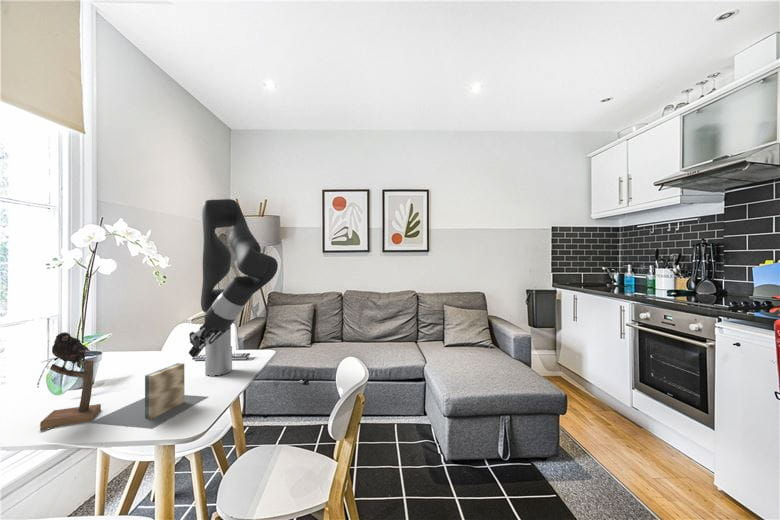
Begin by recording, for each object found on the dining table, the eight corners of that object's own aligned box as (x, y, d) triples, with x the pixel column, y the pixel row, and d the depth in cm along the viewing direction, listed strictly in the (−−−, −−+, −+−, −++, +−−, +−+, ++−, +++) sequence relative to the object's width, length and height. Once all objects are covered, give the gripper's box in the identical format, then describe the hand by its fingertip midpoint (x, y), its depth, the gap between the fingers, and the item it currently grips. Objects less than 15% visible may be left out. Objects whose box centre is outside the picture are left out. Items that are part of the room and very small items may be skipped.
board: (177, 401, 111) (177, 363, 111) (184, 401, 110) (184, 363, 110) (145, 418, 99) (145, 375, 99) (152, 418, 98) (152, 375, 98)
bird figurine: (107, 403, 110) (107, 323, 110) (91, 422, 97) (91, 331, 97) (62, 409, 106) (62, 326, 106) (40, 430, 93) (40, 335, 93)
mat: (155, 394, 118) (155, 392, 118) (208, 397, 114) (208, 396, 114) (88, 424, 96) (88, 422, 96) (152, 430, 93) (152, 428, 93)
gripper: (232, 298, 107) (201, 341, 109) (199, 303, 94) (164, 351, 96) (248, 315, 106) (217, 357, 108) (218, 322, 93) (182, 370, 95)
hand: (192, 354), depth 102 cm, fingers closed
